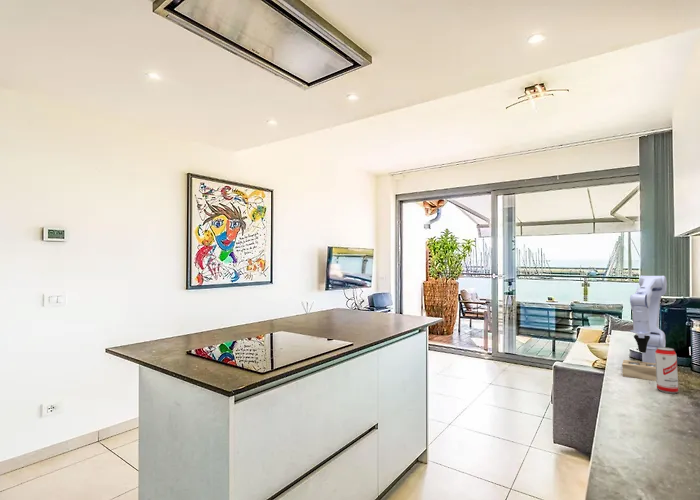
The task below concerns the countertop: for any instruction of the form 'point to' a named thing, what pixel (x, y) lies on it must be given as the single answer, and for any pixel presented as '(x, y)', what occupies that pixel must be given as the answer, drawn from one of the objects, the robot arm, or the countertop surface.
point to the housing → (639, 370)
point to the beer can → (666, 370)
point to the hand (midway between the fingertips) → (642, 352)
